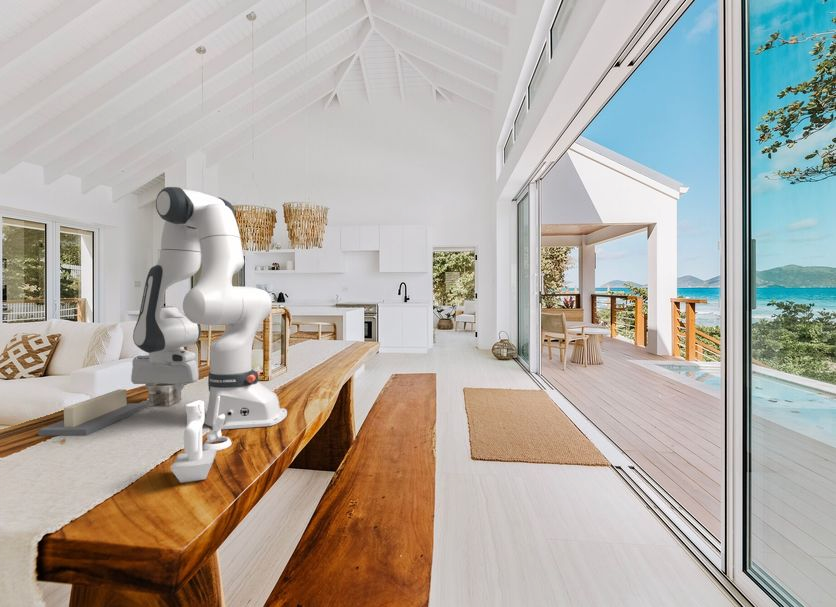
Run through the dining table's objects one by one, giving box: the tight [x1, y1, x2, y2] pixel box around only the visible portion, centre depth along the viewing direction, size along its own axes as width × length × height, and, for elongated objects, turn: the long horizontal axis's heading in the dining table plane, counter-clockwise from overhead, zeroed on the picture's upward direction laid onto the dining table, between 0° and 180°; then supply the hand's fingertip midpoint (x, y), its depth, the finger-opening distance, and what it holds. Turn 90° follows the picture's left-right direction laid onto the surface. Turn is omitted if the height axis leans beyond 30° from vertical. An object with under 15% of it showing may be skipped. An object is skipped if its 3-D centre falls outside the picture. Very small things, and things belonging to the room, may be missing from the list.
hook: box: [202, 414, 232, 451], centre depth 94 cm, size 6×10×6 cm
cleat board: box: [37, 388, 147, 437], centre depth 114 cm, size 12×24×6 cm, turn 2°
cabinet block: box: [148, 384, 182, 407], centre depth 130 cm, size 6×8×6 cm
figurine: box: [169, 400, 218, 484], centre depth 79 cm, size 7×9×15 cm
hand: (165, 396), depth 131 cm, fingers closed on cabinet block, 6 cm apart
